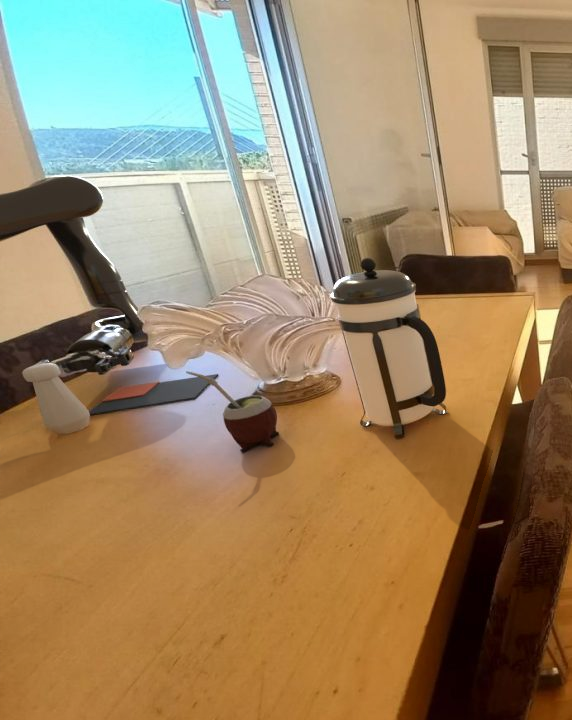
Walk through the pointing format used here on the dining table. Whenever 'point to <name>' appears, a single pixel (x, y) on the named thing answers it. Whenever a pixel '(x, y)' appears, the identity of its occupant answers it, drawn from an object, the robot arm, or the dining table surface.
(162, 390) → the dark grey flat slab
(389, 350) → the coffee press
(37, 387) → the salt shaker
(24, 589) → the dining table surface
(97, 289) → the robot arm
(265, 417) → the mate gourd
